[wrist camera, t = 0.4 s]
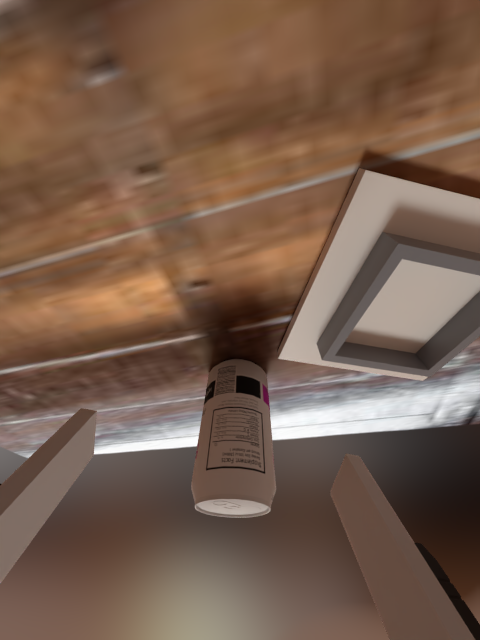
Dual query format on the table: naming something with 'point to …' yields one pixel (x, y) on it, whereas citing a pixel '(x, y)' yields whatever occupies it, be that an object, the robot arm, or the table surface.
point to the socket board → (392, 282)
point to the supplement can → (235, 444)
